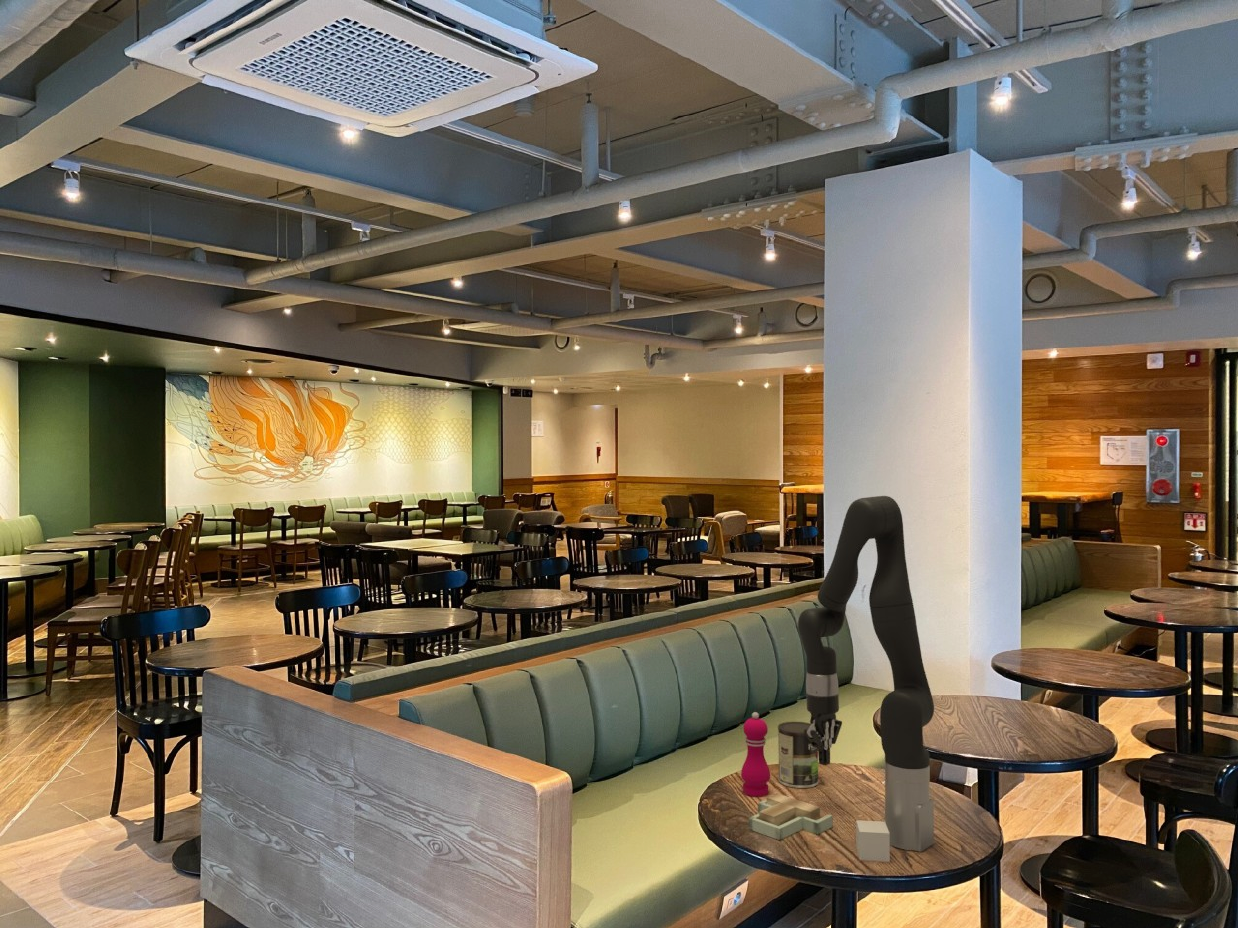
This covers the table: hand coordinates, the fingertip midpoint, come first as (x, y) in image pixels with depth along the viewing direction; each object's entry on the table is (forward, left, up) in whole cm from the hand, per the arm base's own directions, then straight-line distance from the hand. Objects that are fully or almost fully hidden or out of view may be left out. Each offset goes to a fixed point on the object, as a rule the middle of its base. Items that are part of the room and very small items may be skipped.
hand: (824, 763), depth 212 cm
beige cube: (-22, +15, -11) cm, 28 cm away
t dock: (0, +16, -10) cm, 19 cm away
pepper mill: (+17, +4, -11) cm, 21 cm away
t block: (+1, +16, -10) cm, 19 cm away
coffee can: (+14, -10, -11) cm, 20 cm away
